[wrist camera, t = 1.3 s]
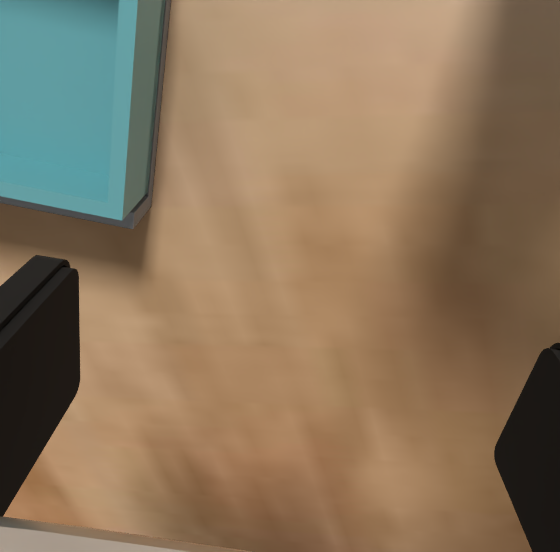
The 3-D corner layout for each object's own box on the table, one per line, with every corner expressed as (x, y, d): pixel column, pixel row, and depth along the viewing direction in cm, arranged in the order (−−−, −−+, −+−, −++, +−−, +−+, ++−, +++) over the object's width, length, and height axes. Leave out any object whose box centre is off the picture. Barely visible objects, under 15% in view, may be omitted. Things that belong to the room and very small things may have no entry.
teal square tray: (-124, -161, 24) (-220, -202, 20) (173, -91, 25) (146, -115, 21) (-89, 143, 31) (-156, 165, 26) (147, 192, 31) (122, 220, 27)
